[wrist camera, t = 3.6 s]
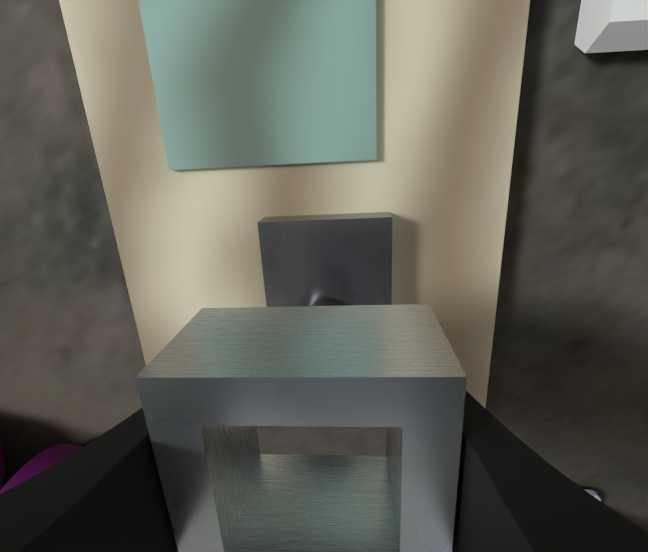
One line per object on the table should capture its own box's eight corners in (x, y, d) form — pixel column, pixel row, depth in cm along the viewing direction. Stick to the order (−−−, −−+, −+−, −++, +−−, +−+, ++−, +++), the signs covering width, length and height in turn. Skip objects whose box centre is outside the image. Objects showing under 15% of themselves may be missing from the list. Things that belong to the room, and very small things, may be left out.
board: (528, -110, 12) (549, -140, 11) (477, 406, 18) (486, 425, 17) (63, -60, 13) (33, -82, 12) (167, 405, 20) (155, 422, 18)
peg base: (389, 212, 14) (407, 240, 10) (387, 384, 17) (402, 472, 12) (264, 216, 15) (225, 246, 10) (281, 384, 17) (256, 469, 13)
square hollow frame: (429, 304, 9) (466, 377, 6) (421, 484, 10) (447, 607, 8) (201, 308, 9) (134, 378, 6) (230, 480, 11) (188, 594, 8)
